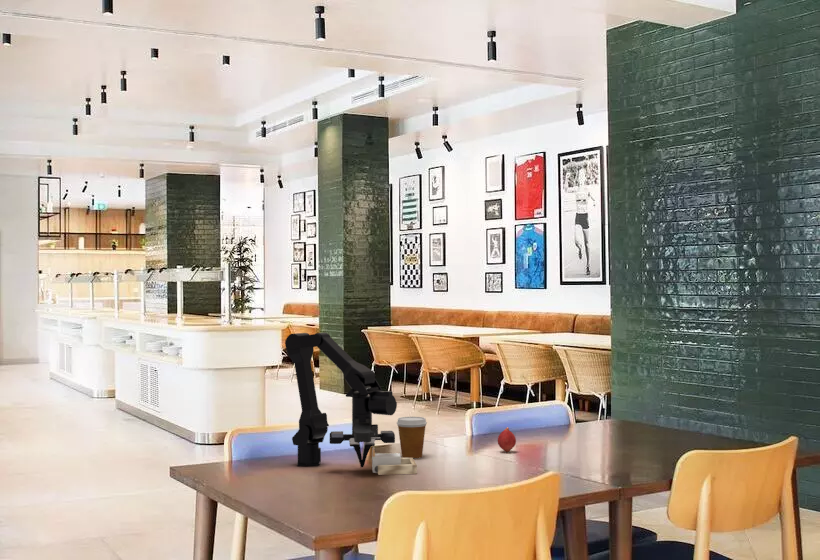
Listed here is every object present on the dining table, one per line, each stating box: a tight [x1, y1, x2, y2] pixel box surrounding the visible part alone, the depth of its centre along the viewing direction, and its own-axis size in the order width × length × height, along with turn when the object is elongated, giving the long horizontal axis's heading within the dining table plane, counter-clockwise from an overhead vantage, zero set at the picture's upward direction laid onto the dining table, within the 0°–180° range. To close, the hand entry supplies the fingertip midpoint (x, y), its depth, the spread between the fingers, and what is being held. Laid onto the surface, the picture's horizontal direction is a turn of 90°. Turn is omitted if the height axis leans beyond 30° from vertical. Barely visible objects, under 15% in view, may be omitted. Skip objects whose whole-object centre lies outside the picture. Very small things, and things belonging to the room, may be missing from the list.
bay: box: [377, 457, 418, 476], centre depth 272 cm, size 11×12×2 cm
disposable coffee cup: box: [396, 416, 428, 459], centre depth 293 cm, size 10×10×12 cm
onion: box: [497, 426, 517, 453], centre depth 301 cm, size 6×6×8 cm
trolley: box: [371, 446, 402, 474], centre depth 271 cm, size 8×7×6 cm
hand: (362, 467), depth 271 cm, fingers closed
